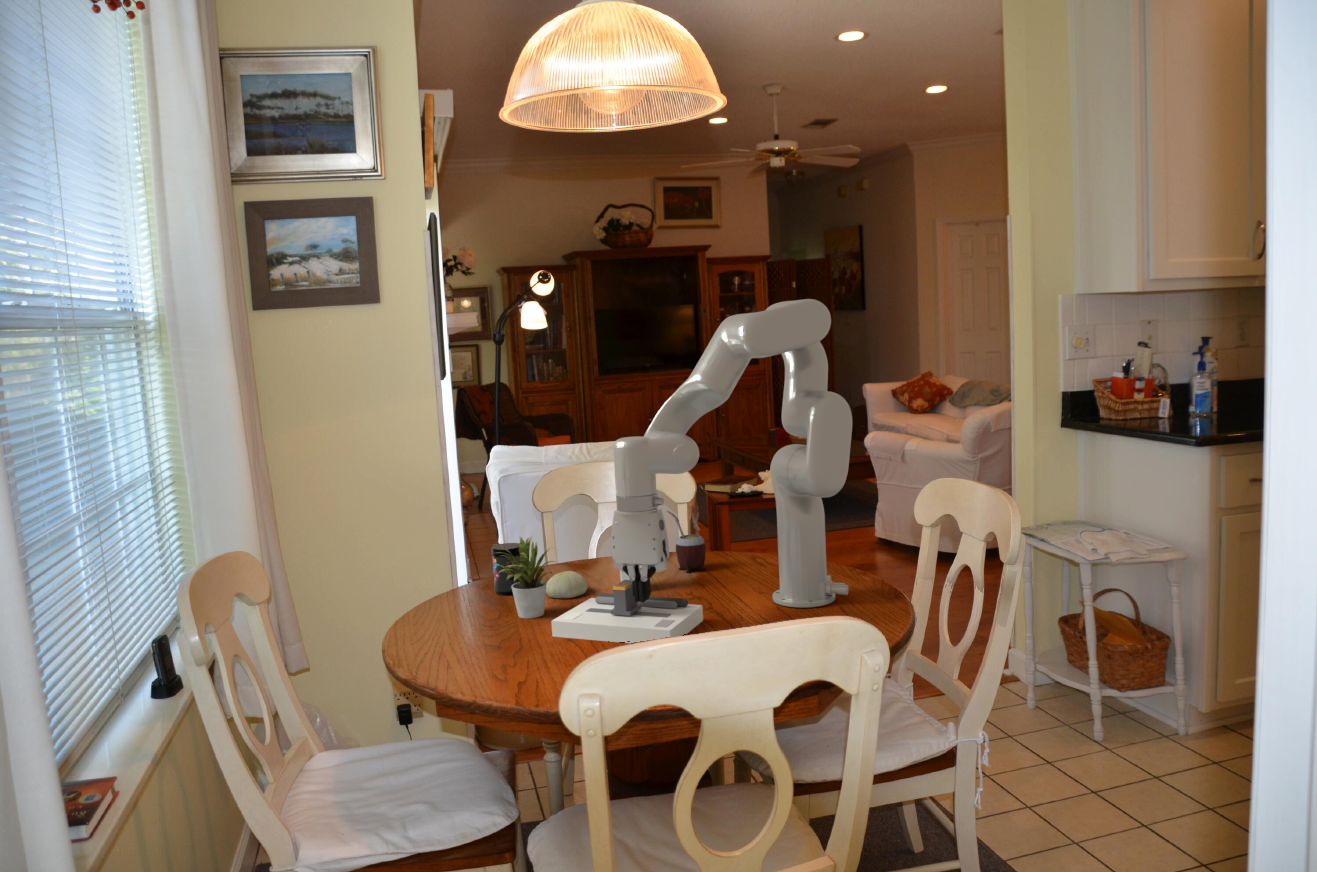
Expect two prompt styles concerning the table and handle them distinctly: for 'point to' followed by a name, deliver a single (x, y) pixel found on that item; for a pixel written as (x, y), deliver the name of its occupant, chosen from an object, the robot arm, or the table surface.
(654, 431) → the robot arm
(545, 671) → the table surface
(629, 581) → the handle
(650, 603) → the base
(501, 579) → the supplement container
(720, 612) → the table surface
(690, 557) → the mate gourd
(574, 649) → the table surface
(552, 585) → the sea urchin shell
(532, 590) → the house plant
